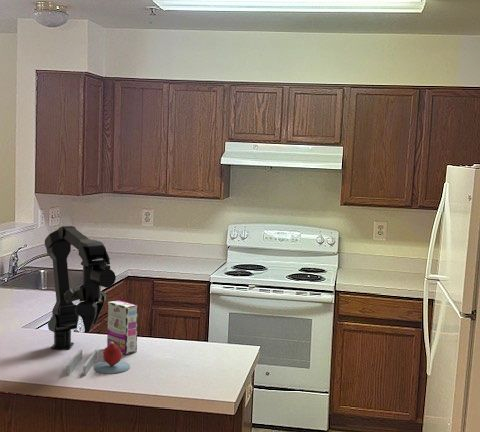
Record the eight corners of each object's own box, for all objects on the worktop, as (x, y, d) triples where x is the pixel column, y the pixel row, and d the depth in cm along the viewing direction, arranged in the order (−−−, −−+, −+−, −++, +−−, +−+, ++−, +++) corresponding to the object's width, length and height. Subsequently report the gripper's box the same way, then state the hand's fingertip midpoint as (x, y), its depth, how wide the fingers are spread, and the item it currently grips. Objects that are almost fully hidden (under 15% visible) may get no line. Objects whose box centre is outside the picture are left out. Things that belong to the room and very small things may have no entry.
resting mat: (99, 361, 216) (99, 360, 216) (132, 362, 216) (132, 361, 215) (91, 373, 205) (91, 371, 205) (126, 374, 205) (126, 372, 205)
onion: (122, 363, 213) (123, 339, 212) (119, 369, 207) (120, 344, 206) (104, 362, 213) (105, 338, 212) (101, 368, 207) (101, 344, 206)
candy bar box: (137, 352, 227) (138, 305, 225) (126, 355, 223) (126, 307, 222) (118, 344, 235) (118, 299, 233) (106, 347, 231) (107, 301, 229)
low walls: (79, 358, 218) (79, 349, 218) (97, 359, 218) (97, 350, 218) (66, 374, 202) (66, 365, 202) (85, 375, 202) (85, 366, 202)
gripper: (73, 273, 221) (72, 318, 223) (58, 286, 202) (57, 335, 204) (107, 275, 221) (105, 320, 223) (95, 288, 202) (93, 337, 204)
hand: (90, 328), depth 213 cm, fingers open, 9 cm apart
